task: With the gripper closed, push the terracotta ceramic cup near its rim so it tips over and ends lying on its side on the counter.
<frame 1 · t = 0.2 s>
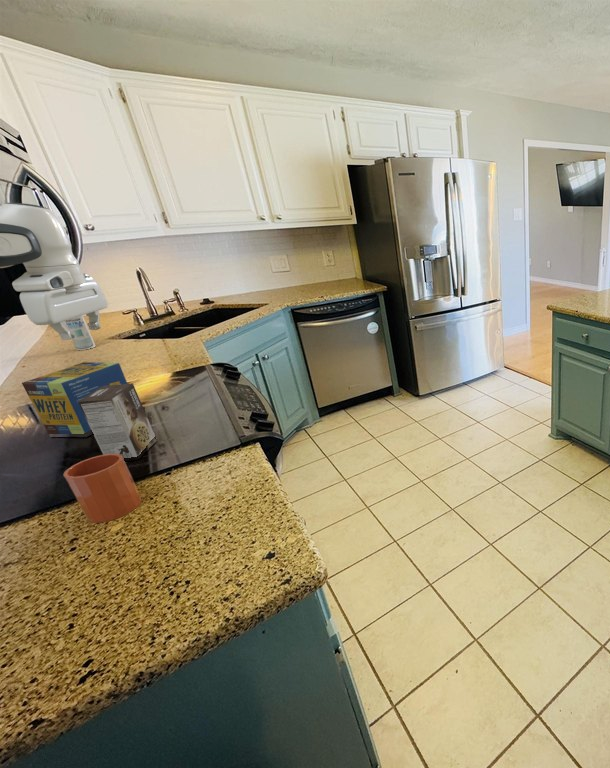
hand: (82, 334, 102), 25 cm above the countertop, tool pointing down, fingers open, 8 cm apart
protein box: (98, 424, 111), on the countertop
cup: (115, 508, 78), on the countertop
spray can: (86, 349, 178), on the countertop
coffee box: (134, 453, 97), on the countertop
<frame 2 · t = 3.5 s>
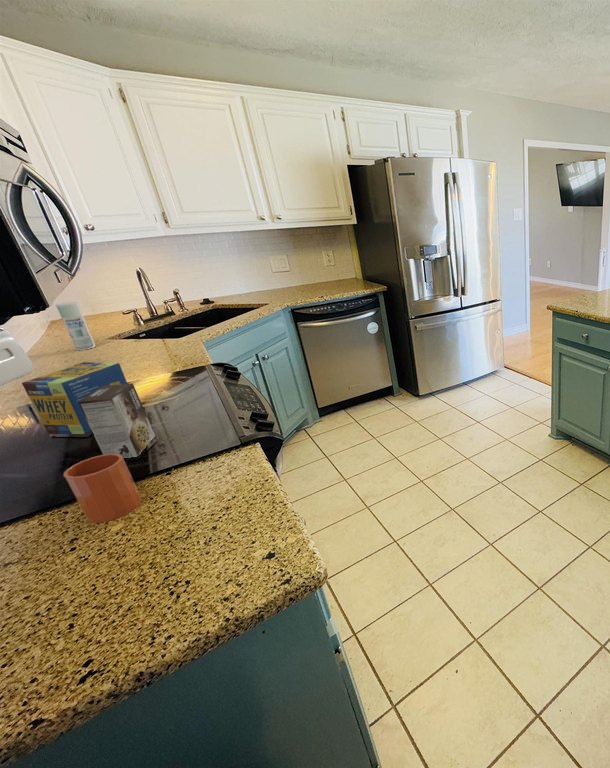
nothing on the countertop moved.
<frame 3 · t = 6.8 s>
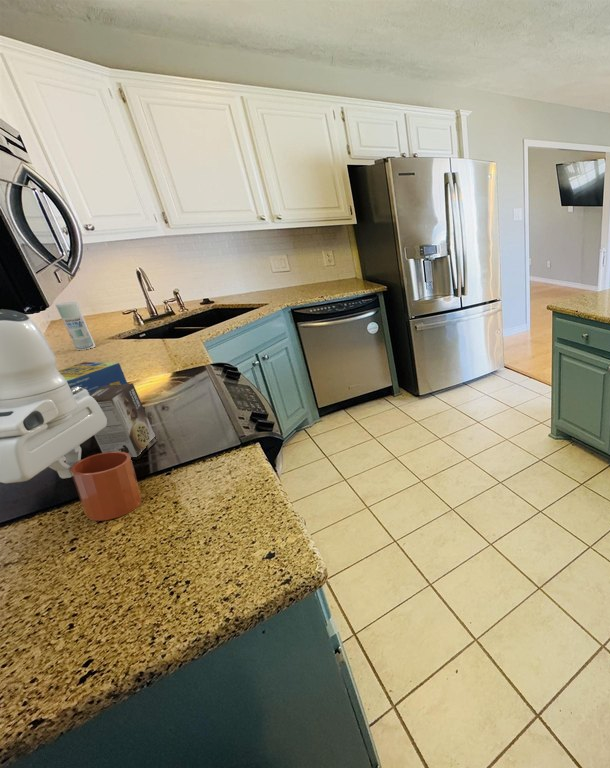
hand: (72, 473, 74), 9 cm above the countertop, tool pointing down, fingers closed, pressing on cup
cup: (114, 507, 78), on the countertop, tilted 7°, touching gripper
everything else where it was.
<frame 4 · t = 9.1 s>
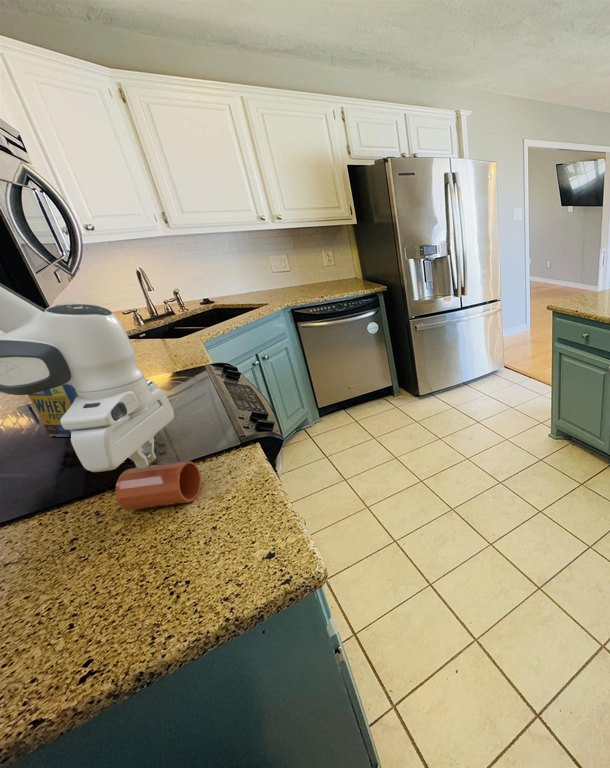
hand: (147, 463, 77), 9 cm above the countertop, tool pointing down, fingers closed
cup: (130, 489, 78), point 4 cm above the countertop, tilted 90°
everything else where it was.
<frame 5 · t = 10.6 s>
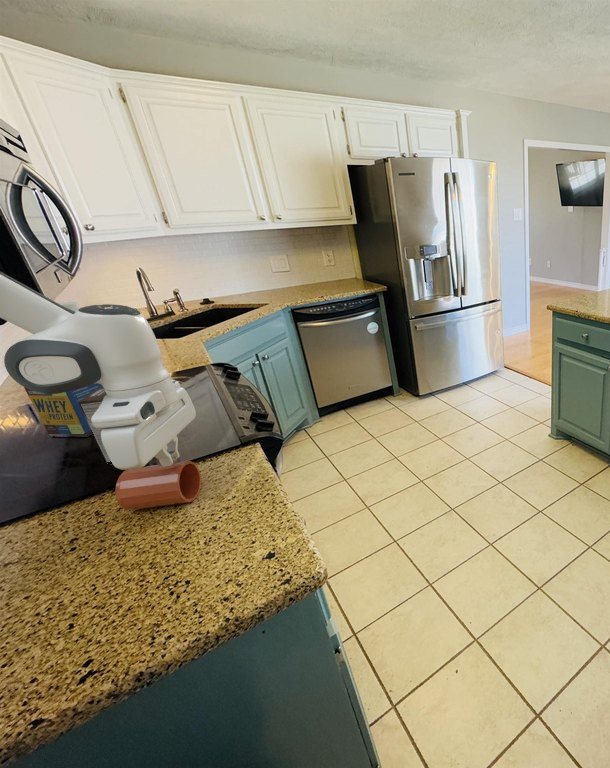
hand: (171, 462, 77), 9 cm above the countertop, tool pointing down, fingers closed
nothing on the countertop moved.
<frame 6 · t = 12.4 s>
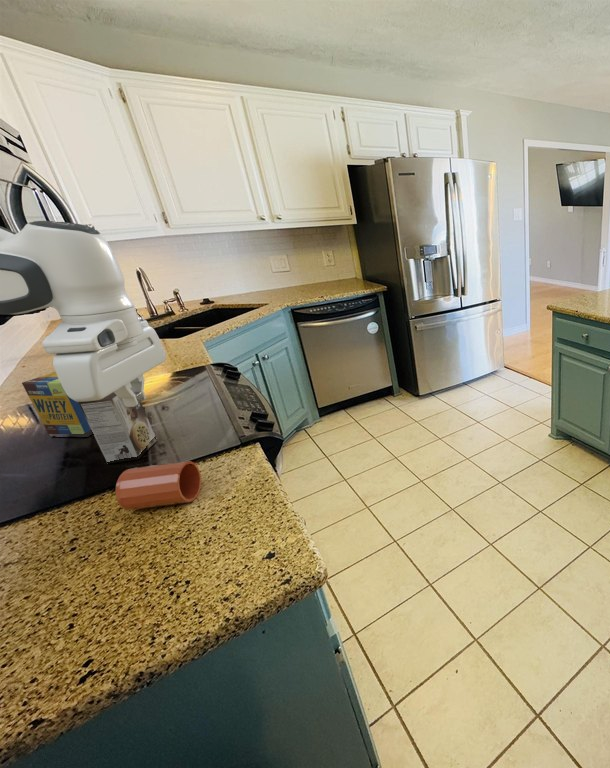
hand: (136, 403, 72), 21 cm above the countertop, tool pointing down, fingers closed
nothing on the countertop moved.
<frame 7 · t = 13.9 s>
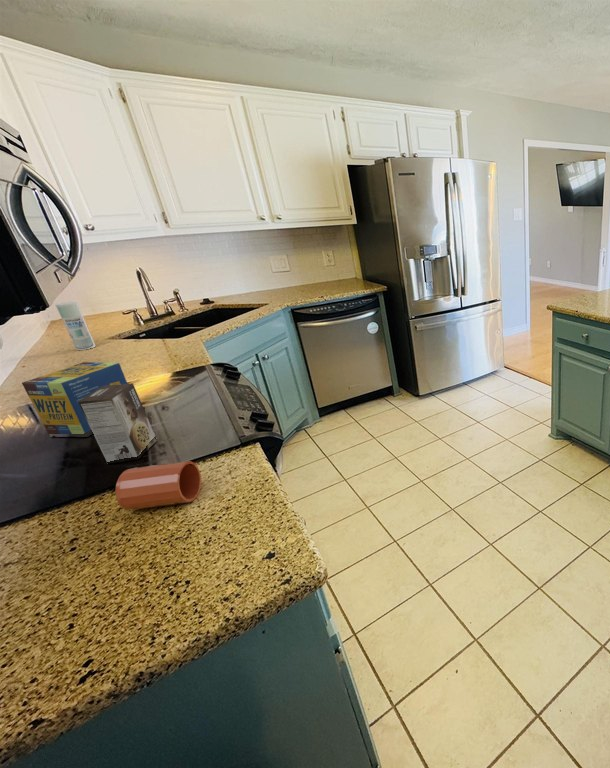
nothing on the countertop moved.
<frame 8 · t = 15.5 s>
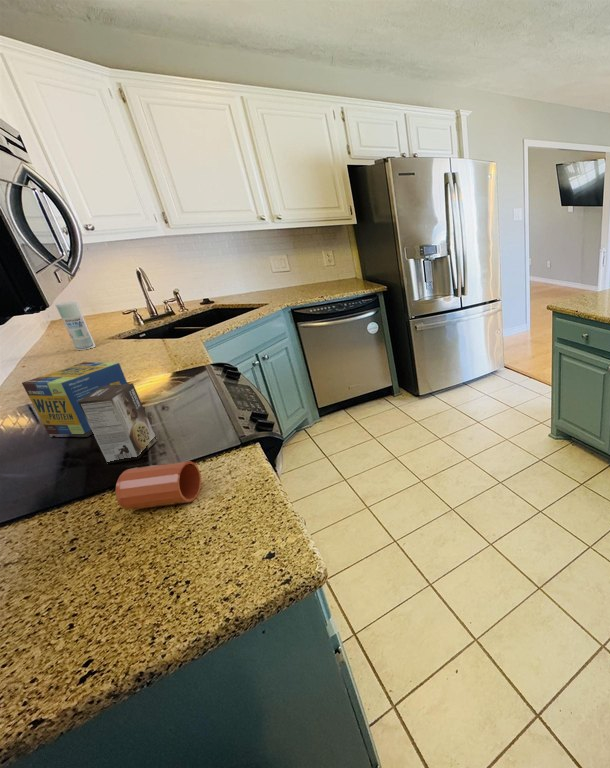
nothing on the countertop moved.
at the end: cup tilted 90°; cup inside the target area (4.2 cm from its centre), point 3.9 cm above the countertop; the gripper is holding nothing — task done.
